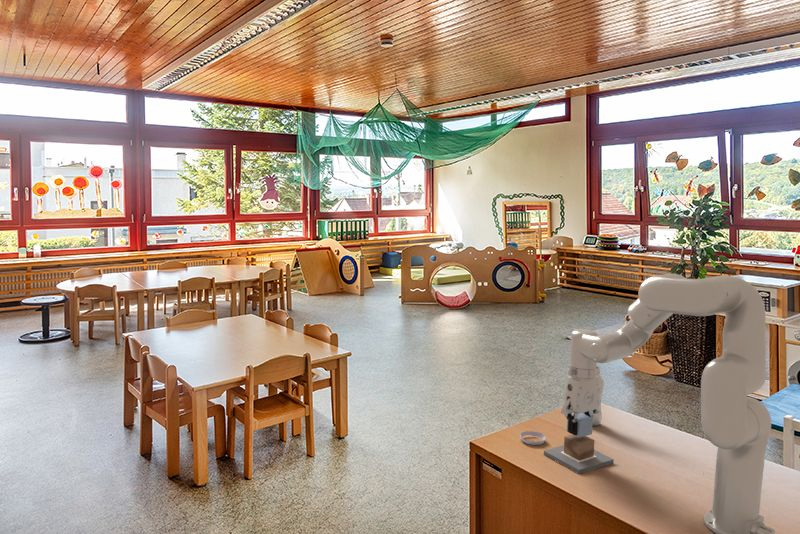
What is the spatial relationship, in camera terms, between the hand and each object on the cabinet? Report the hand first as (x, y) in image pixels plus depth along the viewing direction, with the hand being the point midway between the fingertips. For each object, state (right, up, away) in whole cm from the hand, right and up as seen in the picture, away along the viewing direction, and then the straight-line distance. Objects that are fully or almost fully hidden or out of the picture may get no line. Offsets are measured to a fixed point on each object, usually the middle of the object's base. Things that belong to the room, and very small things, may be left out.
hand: (579, 431), depth 173 cm
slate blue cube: (0, -1, 0) cm, 1 cm away
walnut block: (0, -7, +1) cm, 7 cm away
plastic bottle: (+12, -6, +27) cm, 31 cm away
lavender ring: (-11, -7, +13) cm, 19 cm away
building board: (0, -9, +1) cm, 9 cm away
